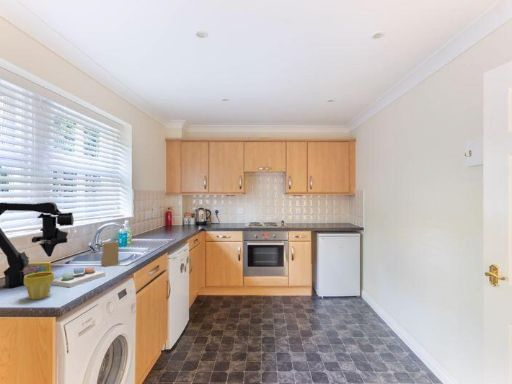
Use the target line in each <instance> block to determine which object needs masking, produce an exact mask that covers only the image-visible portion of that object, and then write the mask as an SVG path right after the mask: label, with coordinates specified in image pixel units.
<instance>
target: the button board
mask: <svg viewBox="0 0 512 384" xmlns="http://www.w3.org/2000/svg"><path fill="white" fill-rule="evenodd" d="M105 276H106V272H105V271H99V270H94V272H91V273H85V270H84V272H83V273H80V274H74V273H73V278H71V279H67V280H63V279H62V276H60V277H57V278H54V280H53V281H52V283H51V285H53V286H58V287H64V288H72V287H76V286H78V285H82V284H84V283H87V282H89V281H94V280H96V278H97V279H99V277H100V278H103V277H105Z"/></svg>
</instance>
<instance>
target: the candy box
mask: <svg viewBox="0 0 512 384" xmlns="http://www.w3.org/2000/svg"><path fill="white" fill-rule="evenodd" d="M22 272H24V274H25V276H26V275H29V274H33V273H39V272H52V262H51V261H47V262H44V261H42V262H40V261H39V262H37V261H36V262H29V263H28V265H27V266H26V267H25V268H24V270H23V271H22Z"/></svg>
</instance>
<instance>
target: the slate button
mask: <svg viewBox="0 0 512 384" xmlns="http://www.w3.org/2000/svg"><path fill="white" fill-rule="evenodd" d="M84 271H85V268H84V267H77V268H74V269H73V274H80V273H83V272H84Z"/></svg>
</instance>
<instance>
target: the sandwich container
mask: <svg viewBox="0 0 512 384" xmlns="http://www.w3.org/2000/svg"><path fill="white" fill-rule="evenodd" d="M102 246H103V247H102V255H101V259H100V260H101V261H100V264H101V266H102V267H103V268H107V267H114V266H119V241H111V242H104V243H103V245H102Z"/></svg>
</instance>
